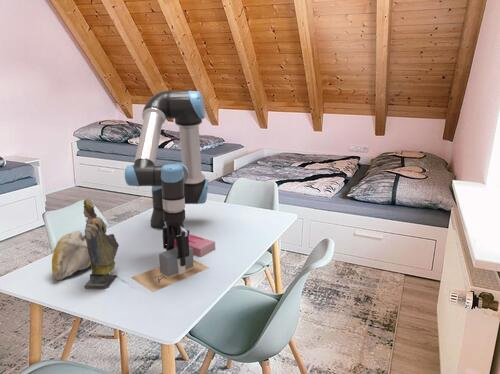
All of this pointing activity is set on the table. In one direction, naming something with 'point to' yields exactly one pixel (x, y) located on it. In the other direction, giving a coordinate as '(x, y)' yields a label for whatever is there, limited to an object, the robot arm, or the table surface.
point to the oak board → (158, 281)
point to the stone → (70, 255)
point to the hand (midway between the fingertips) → (177, 270)
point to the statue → (99, 249)
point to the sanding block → (173, 262)
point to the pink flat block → (200, 245)
